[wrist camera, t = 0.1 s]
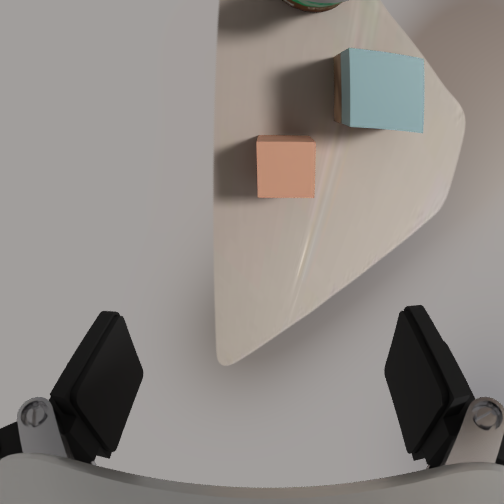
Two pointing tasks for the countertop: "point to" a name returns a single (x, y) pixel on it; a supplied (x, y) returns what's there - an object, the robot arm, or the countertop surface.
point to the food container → (314, 4)
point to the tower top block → (382, 90)
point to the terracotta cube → (285, 166)
